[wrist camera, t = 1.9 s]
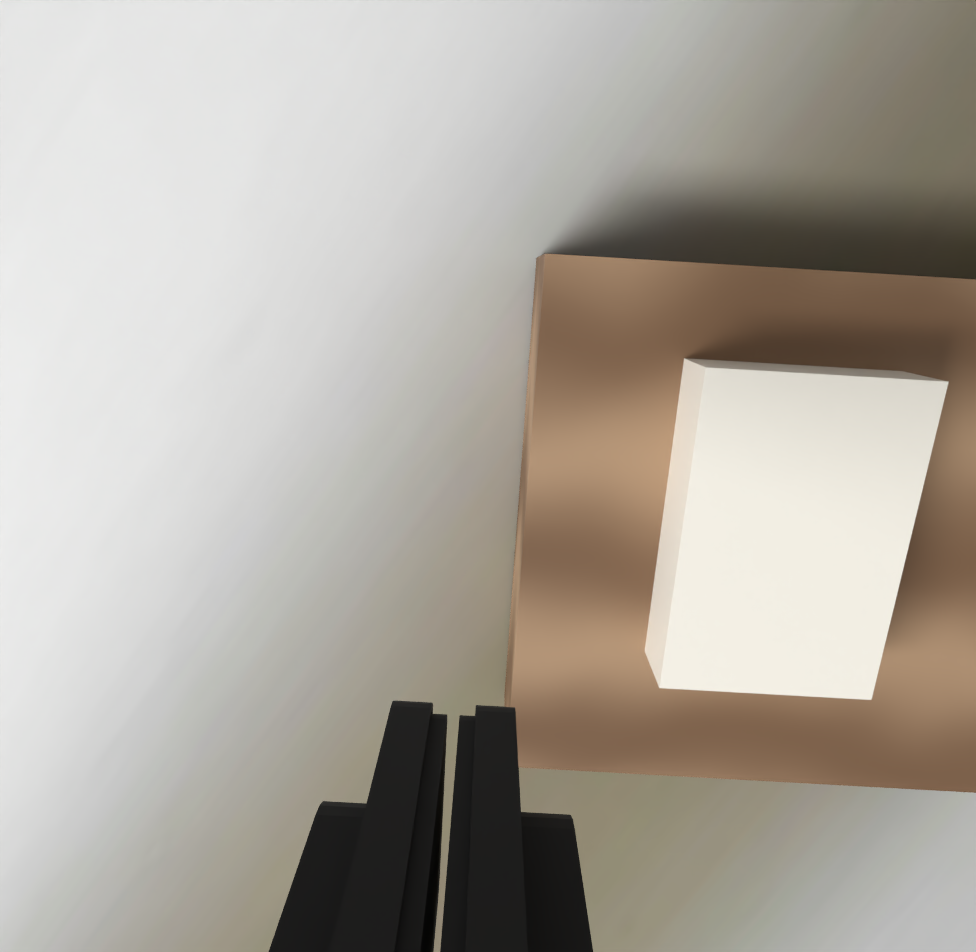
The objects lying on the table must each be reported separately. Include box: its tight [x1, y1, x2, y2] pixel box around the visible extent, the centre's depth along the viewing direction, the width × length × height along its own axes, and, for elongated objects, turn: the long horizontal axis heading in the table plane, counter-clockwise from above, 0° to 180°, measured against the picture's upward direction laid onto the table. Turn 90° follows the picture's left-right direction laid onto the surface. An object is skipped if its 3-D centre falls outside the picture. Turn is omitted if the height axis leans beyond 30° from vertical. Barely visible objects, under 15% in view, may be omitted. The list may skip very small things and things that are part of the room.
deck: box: [505, 254, 976, 793], centre depth 22 cm, size 16×18×4 cm
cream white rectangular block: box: [645, 358, 948, 700], centre depth 19 cm, size 9×6×2 cm, turn 177°
